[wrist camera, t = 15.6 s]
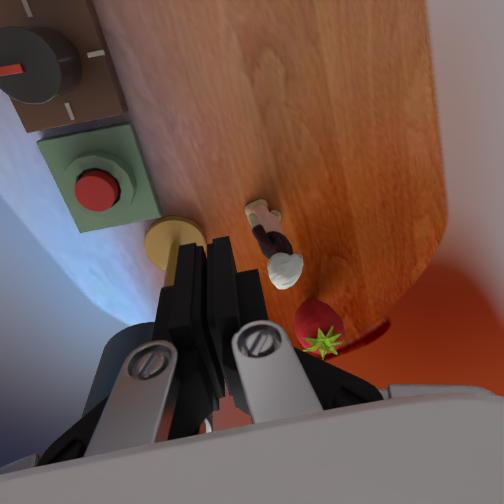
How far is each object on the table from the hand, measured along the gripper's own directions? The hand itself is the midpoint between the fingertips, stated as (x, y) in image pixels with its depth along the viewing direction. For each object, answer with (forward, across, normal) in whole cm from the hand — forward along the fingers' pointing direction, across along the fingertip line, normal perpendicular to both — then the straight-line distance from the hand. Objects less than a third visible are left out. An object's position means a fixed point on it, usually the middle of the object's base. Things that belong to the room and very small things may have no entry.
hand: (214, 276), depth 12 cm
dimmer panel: (+27, +12, -7) cm, 30 cm away
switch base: (+27, +12, +4) cm, 30 cm away
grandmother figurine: (+27, -4, +12) cm, 30 cm away
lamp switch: (+24, +12, +4) cm, 28 cm away
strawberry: (+27, -8, +26) cm, 39 cm away
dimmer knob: (+25, +12, -7) cm, 29 cm away
